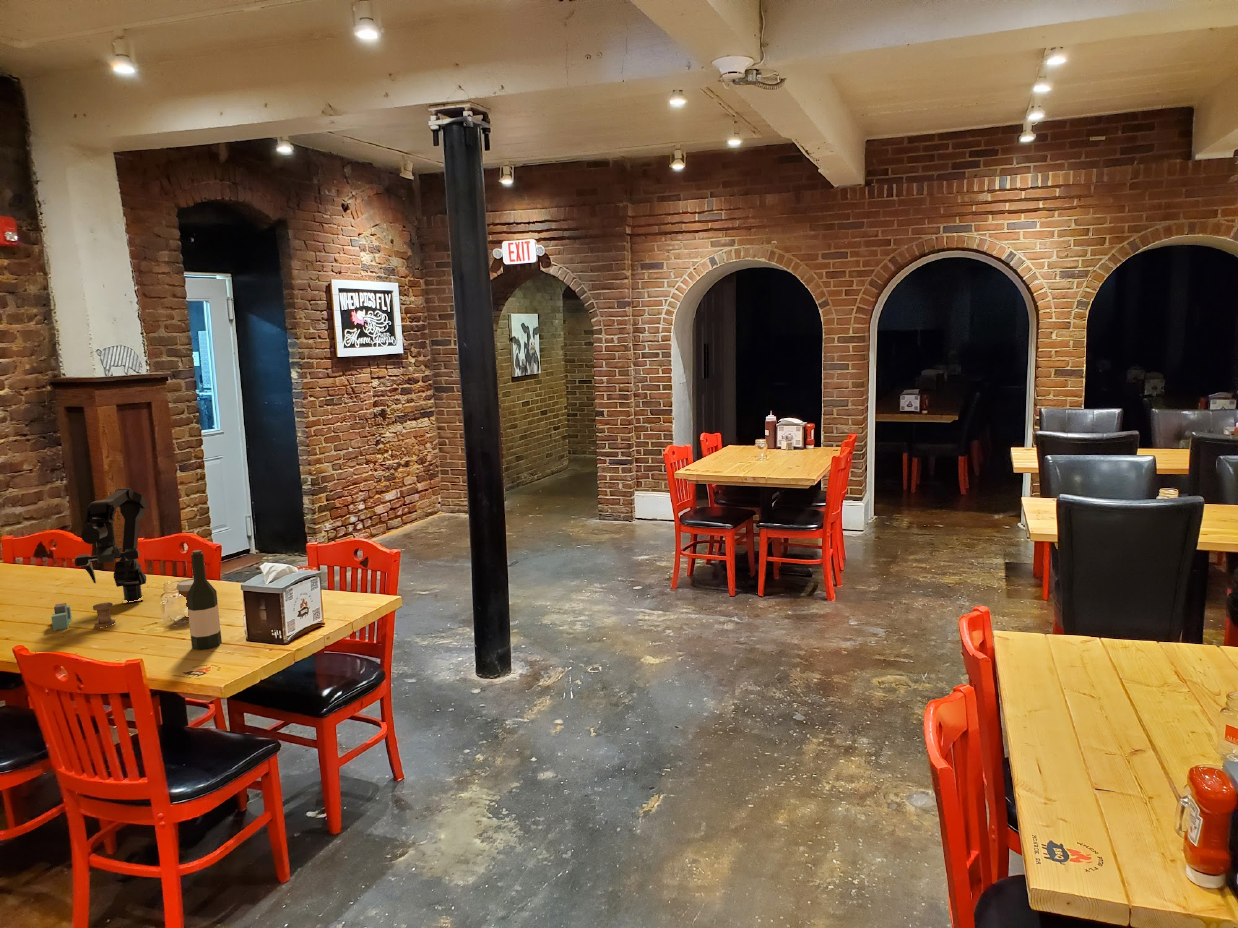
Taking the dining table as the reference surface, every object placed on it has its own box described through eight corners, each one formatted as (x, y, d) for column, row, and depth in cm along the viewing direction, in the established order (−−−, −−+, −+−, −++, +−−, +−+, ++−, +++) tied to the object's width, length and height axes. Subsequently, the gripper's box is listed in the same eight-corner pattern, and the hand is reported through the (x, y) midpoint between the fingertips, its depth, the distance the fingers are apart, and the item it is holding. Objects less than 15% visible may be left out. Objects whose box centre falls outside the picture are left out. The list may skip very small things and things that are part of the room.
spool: (95, 624, 281) (93, 604, 280) (116, 620, 284) (113, 601, 283) (93, 629, 276) (91, 608, 275) (114, 625, 278) (112, 605, 277)
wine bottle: (209, 650, 252) (199, 554, 248) (185, 649, 254) (175, 554, 250) (227, 641, 260) (218, 547, 256) (204, 639, 262) (194, 547, 258)
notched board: (58, 620, 286) (56, 606, 285) (71, 618, 288) (70, 604, 287) (53, 630, 276) (51, 616, 275) (67, 628, 277) (65, 614, 277)
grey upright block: (58, 621, 283) (55, 604, 282) (68, 619, 284) (66, 602, 283) (56, 624, 279) (53, 607, 278) (66, 623, 280) (64, 605, 280)
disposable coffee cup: (215, 613, 289) (212, 579, 287) (188, 621, 281) (185, 586, 279) (200, 609, 294) (197, 576, 292) (174, 616, 286) (170, 583, 284)
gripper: (70, 545, 276) (76, 591, 278) (135, 538, 284) (140, 582, 287) (74, 539, 286) (79, 583, 288) (136, 532, 294) (141, 574, 296)
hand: (110, 581), depth 289 cm, fingers open, 9 cm apart
